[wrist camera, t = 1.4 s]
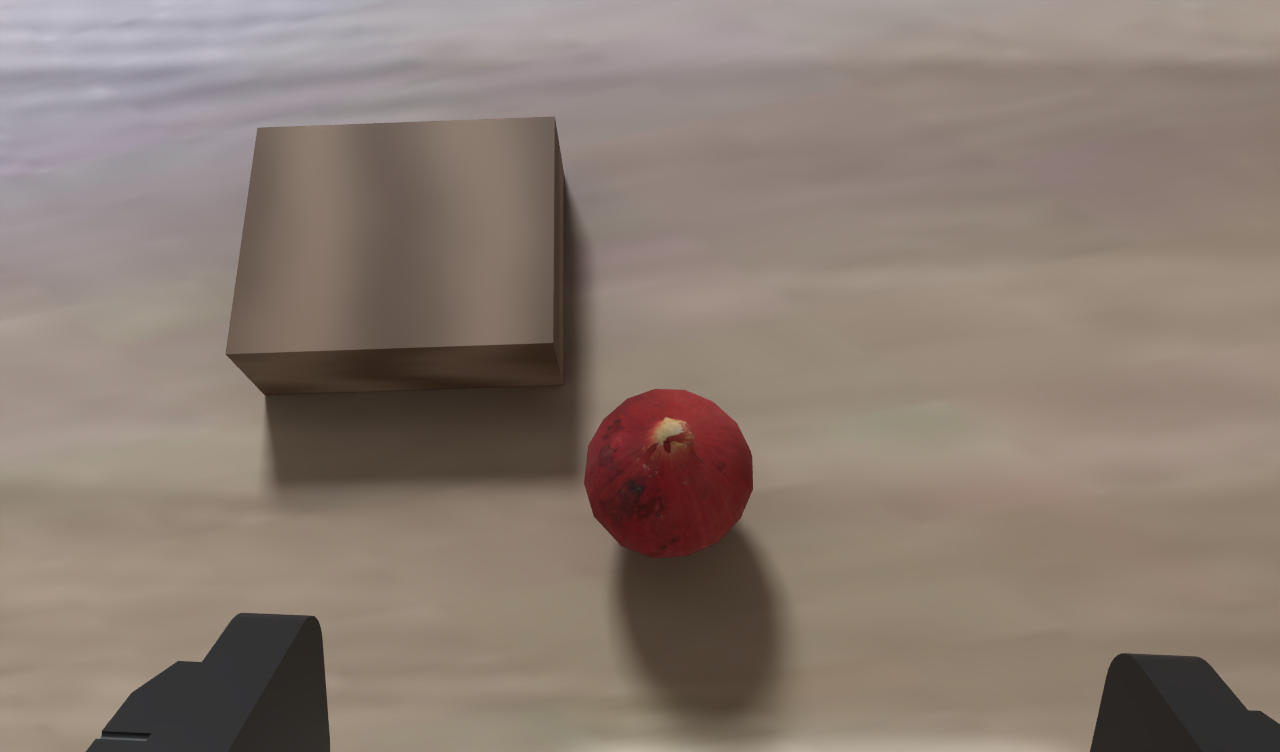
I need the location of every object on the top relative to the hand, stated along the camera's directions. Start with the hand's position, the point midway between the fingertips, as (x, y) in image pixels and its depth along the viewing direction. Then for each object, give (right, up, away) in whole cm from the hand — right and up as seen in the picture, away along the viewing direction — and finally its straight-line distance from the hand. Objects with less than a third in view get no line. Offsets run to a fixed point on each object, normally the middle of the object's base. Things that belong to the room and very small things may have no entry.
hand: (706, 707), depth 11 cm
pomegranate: (0, -2, +29) cm, 29 cm away
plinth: (-10, +7, +33) cm, 35 cm away
